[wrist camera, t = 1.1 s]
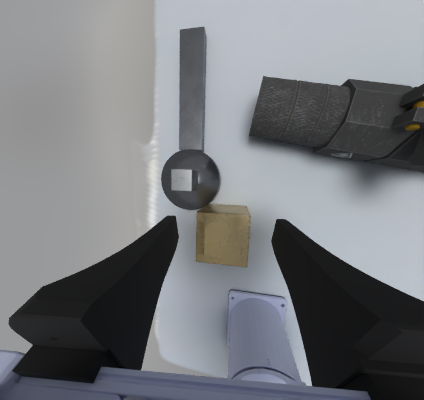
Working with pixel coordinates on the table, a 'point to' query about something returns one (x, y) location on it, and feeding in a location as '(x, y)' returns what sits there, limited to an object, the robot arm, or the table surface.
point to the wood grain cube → (223, 235)
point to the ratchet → (191, 131)
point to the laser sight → (345, 119)
